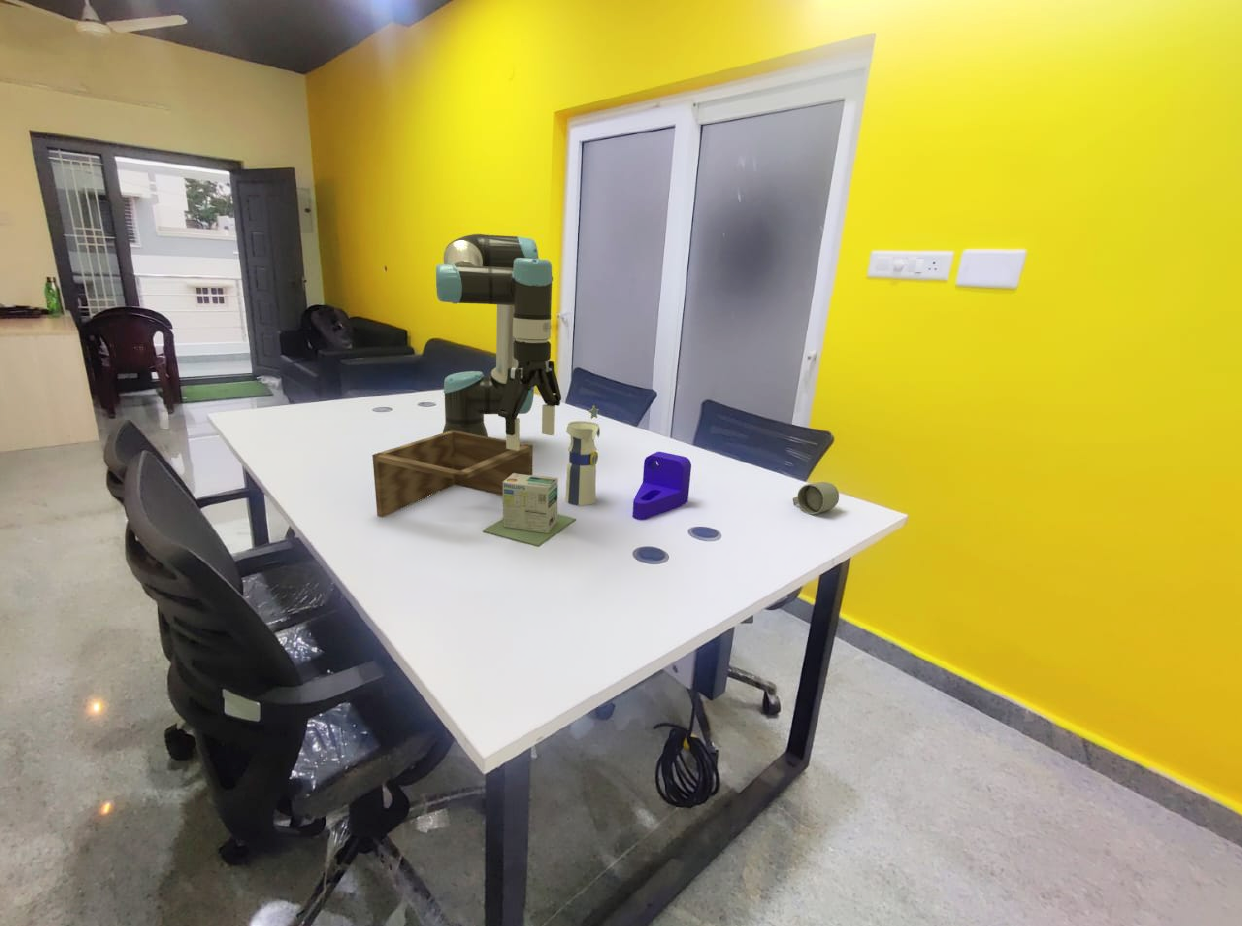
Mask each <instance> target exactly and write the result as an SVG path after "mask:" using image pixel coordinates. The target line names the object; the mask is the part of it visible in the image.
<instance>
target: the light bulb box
mask: <svg viewBox="0 0 1242 926" xmlns="http://www.w3.org/2000/svg"><path fill="white" fill-rule="evenodd" d="M558 481H559V478H558V477H550V476H540V475H533V474H532V475H524V474H517V473H513V474H512V475H511V476H509V477H508V478H507V479H506V480H504V481H503V487H502V489H503V496H502V519H503V527H506V528H514V529H521V530H528V531H536V532H543V533H549V532H550V530H551V529H552V528H553V527H554V525H555V524H556V523H557V514H558V494H559V493H558V487H559V486H558V485H559V484H558V483H559V482H558Z"/></svg>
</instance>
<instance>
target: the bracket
mask: <svg viewBox="0 0 1242 926" xmlns="http://www.w3.org/2000/svg"><path fill="white" fill-rule="evenodd" d="M643 462H644V463H643V475H642V476H643V477H642V483H641V485H640V487H639V488H638V490H637V492H636V494H635V496H634V498H633V502H632V503H633V504H632V514H631V515H632V519H634V520H638V521H644V520H648V519H651V518H654V517H656V516H659V515H662V514H665V513H667V512H671V511H673V510H677V509H679V508H681V507H683V506H684V505H685V504H686V503H688V501H689V491H690V480H691V473H692V472H691V470H692V463H691V461H690V459H688V457H687V456H682V455H677V454H672V453H669V452H664V451H656V452H654V453H652V454H650V455H649V456H646V457H645V459H644V461H643Z"/></svg>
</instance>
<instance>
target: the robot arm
mask: <svg viewBox="0 0 1242 926" xmlns="http://www.w3.org/2000/svg"><path fill="white" fill-rule="evenodd" d="M442 261H443V263H439V264H437V265H436V267H435V289H436V290H435V291H436V297H437V299H438V301H440V302H444V303H452V304H478V305H479V304H484V305H486V304H487V305H496V335H495V336H496V340H495V341H496V345H495V347H496V349H495V350H496V351H495V355H496V356H495V362H496V363H495V367H494V368H492V369H491V371H490V376H485V375H484V372H482V371H480V370H477V371H476V370H470V371H460V372H456V373H452V374H449V375H447V376H446V377H445V378H444V381H443V382H444V383H443V384H444V385H443V386H444V387H443V394H444V419H445V423H444V428H443V430H442V433H444V432H447V431H451V430H456V431H461V432H466V433H472V434H477V435H482V436H487V437H489V433H488V430H487V428H486V424H485V415H497V416H498V417H500V418H504V419H505V434H506V436H505V440H506V449H511V450H516V451H518V450H520V443H521V442H520V441H521V440H520V439H521V437H520V436H521V435H520V432H521V431H520V430H521V427H520V426H521V425H520V423H521V422H520V420H521V419H520V418H518V416H519V415H524V414H527V413H529V412H530V410H531V408H532V405H533V402H534V397H535V396H534V394H535V393H534V392H535V387H536V389H537V390H538V392H539V394H540V396H541V398H542V400H543V402H544V403H545V404H542V407H541V408H542V413H541V425H542V426H541V434H544V435H549V436H555V423H556V422H555V420H556V419H555V418H556V417H555V415H556V413H555V411H556V407H557V406H560V404H561V400H562V395H561V392H560V388H559V387H560V386H559V383H558V380H557V376H556V371H555V361H554V360H551V358H552V343H551V341H549V340H551V339H552V329H553V326H552V303H553V299H552V298H553V282H554V276H553V264H552V262H551V261H550V260H548V259H541V258H539V250H538V246H537V243H536V241H535V240H534V239H533V238H530V237H524V236H519V235H515V236H514V235H502V234H501V235H497V234H483V233H473V234H466V235H463V236H461V237H458V238H456V239H454V240H452V241H451V242H449V243H448V245H447V246H446V247H445V249H444V252H443V260H442Z"/></svg>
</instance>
